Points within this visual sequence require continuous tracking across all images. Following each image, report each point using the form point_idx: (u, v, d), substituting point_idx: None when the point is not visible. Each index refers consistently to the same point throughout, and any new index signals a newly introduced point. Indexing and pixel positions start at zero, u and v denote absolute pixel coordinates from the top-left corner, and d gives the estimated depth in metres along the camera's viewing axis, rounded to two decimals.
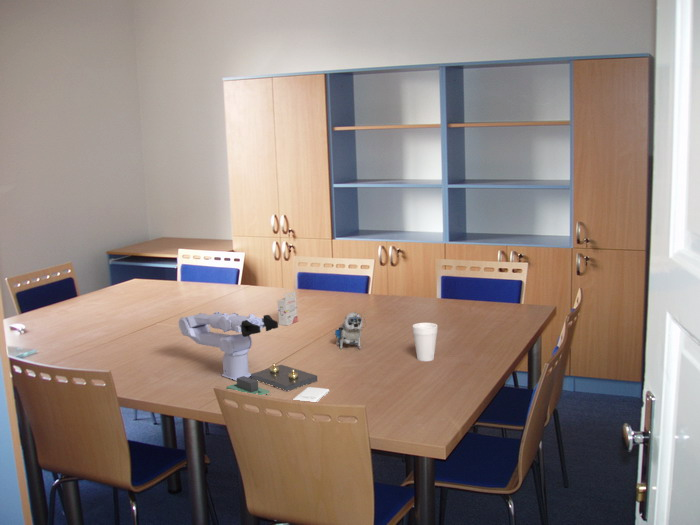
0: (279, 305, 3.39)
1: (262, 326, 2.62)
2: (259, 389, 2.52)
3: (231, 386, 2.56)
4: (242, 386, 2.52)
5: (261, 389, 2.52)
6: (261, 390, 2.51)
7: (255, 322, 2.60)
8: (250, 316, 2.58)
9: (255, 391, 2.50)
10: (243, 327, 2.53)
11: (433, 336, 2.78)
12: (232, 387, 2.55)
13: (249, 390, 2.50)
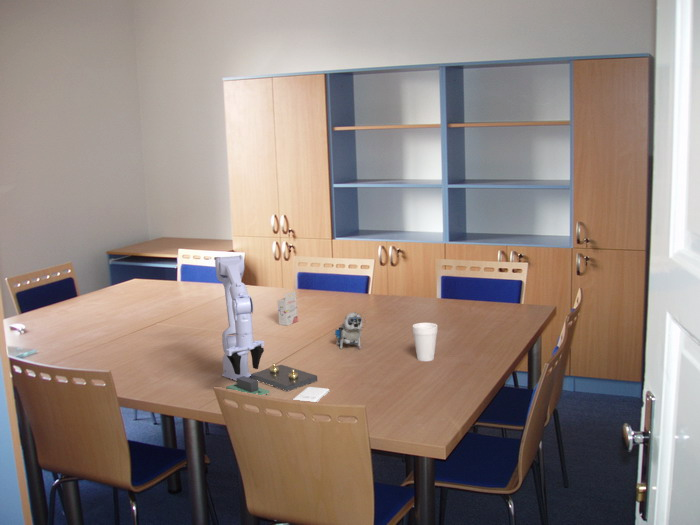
0: (279, 305, 3.39)
1: None
2: (259, 389, 2.52)
3: (231, 386, 2.56)
4: (242, 386, 2.52)
5: (261, 389, 2.52)
6: (261, 390, 2.51)
7: None
8: (249, 349, 2.48)
9: (255, 391, 2.50)
10: None
11: (433, 336, 2.78)
12: (232, 387, 2.55)
13: (249, 390, 2.50)
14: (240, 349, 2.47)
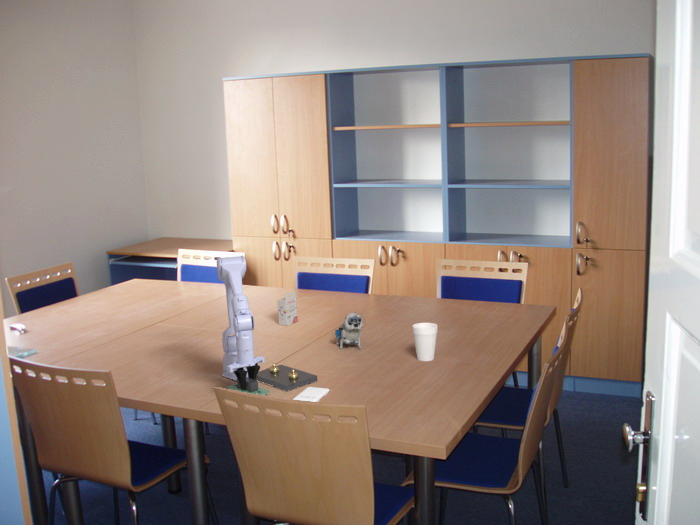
0: (279, 305, 3.39)
1: None
2: (259, 389, 2.52)
3: (231, 386, 2.56)
4: None
5: (261, 389, 2.52)
6: (261, 390, 2.51)
7: None
8: (250, 365, 2.49)
9: (255, 391, 2.50)
10: None
11: (433, 336, 2.78)
12: (232, 387, 2.55)
13: (249, 390, 2.50)
14: (241, 366, 2.48)
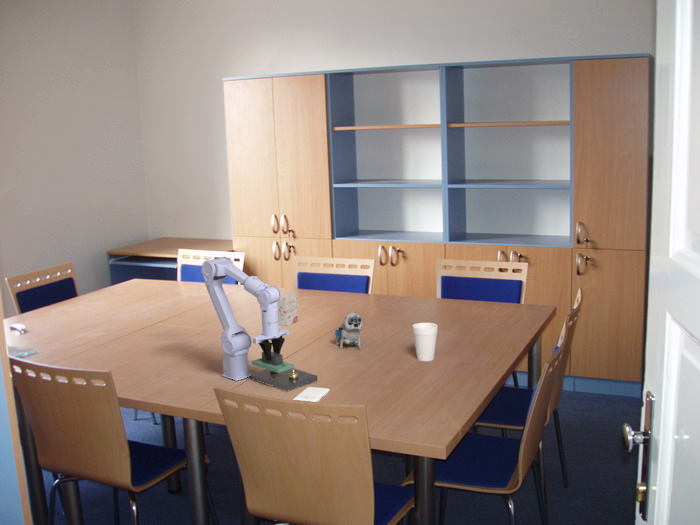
0: (279, 305, 3.39)
1: None
2: (283, 363, 2.59)
3: (256, 361, 2.62)
4: None
5: (285, 363, 2.58)
6: (285, 364, 2.57)
7: None
8: (275, 337, 2.55)
9: (280, 364, 2.57)
10: None
11: (433, 336, 2.78)
12: (257, 361, 2.62)
13: (274, 364, 2.56)
14: (266, 337, 2.54)
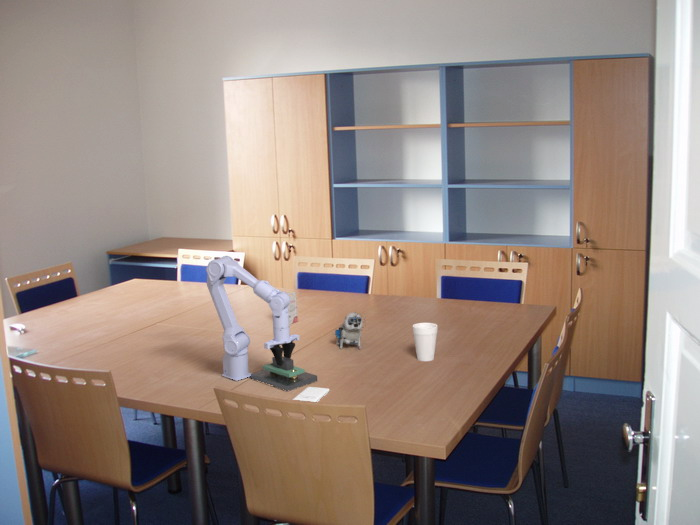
0: None
1: None
2: (294, 367, 2.62)
3: (267, 365, 2.66)
4: None
5: (296, 367, 2.62)
6: (296, 368, 2.61)
7: None
8: (286, 342, 2.59)
9: (291, 369, 2.61)
10: None
11: (433, 336, 2.78)
12: (268, 366, 2.65)
13: (285, 368, 2.60)
14: (278, 343, 2.58)
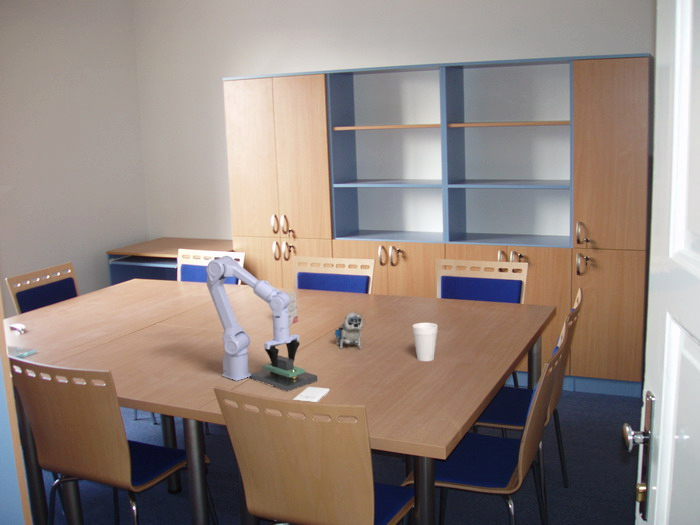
0: None
1: None
2: (294, 367, 2.62)
3: (267, 365, 2.66)
4: (278, 364, 2.63)
5: (296, 367, 2.62)
6: (296, 368, 2.61)
7: None
8: (286, 342, 2.59)
9: (291, 369, 2.61)
10: None
11: (433, 336, 2.78)
12: (268, 366, 2.65)
13: (285, 368, 2.60)
14: (278, 343, 2.58)
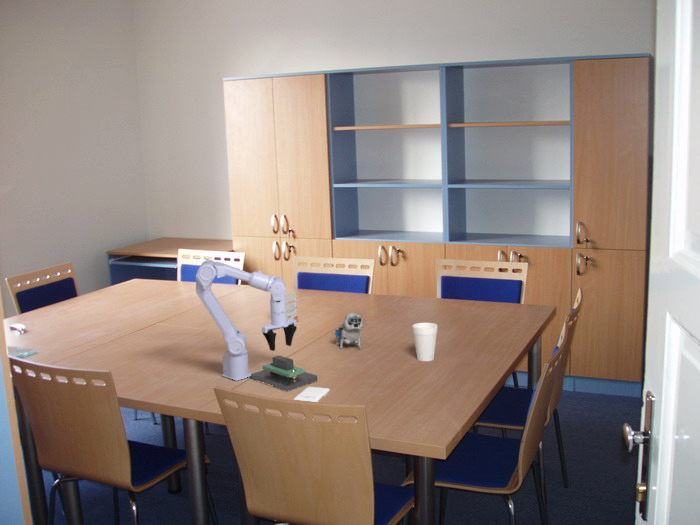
0: None
1: None
2: (294, 367, 2.62)
3: (267, 365, 2.66)
4: (278, 364, 2.63)
5: (296, 367, 2.62)
6: (296, 368, 2.61)
7: None
8: (283, 326, 2.65)
9: (291, 369, 2.61)
10: (268, 334, 2.64)
11: (433, 336, 2.78)
12: (268, 366, 2.65)
13: (285, 368, 2.60)
14: (275, 327, 2.64)
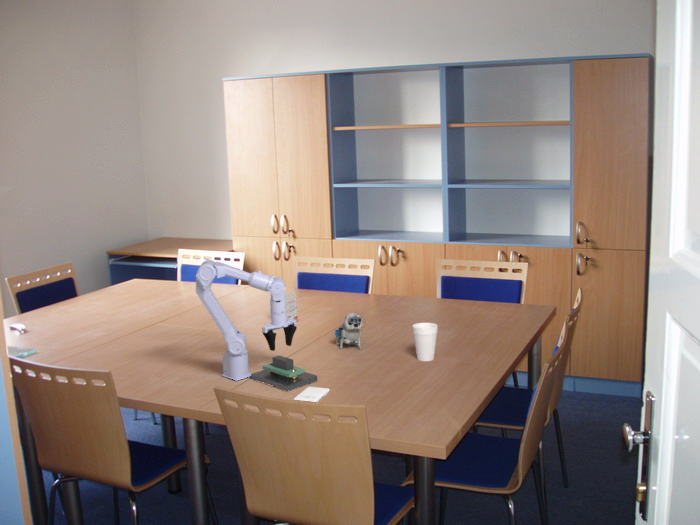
0: None
1: None
2: (294, 367, 2.62)
3: (267, 365, 2.66)
4: (278, 364, 2.63)
5: (296, 367, 2.62)
6: (296, 368, 2.61)
7: None
8: (283, 326, 2.65)
9: (291, 369, 2.61)
10: (268, 334, 2.64)
11: (433, 336, 2.78)
12: (268, 366, 2.65)
13: (285, 368, 2.60)
14: (275, 327, 2.64)
